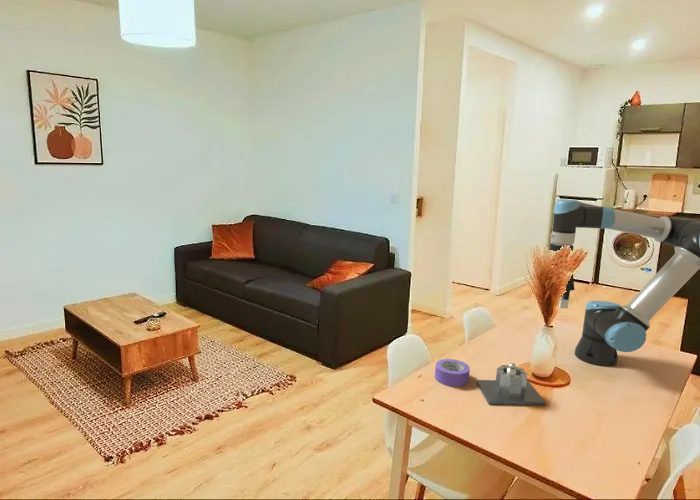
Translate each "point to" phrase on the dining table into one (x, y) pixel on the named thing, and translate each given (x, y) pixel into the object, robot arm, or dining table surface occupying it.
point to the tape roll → (452, 372)
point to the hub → (511, 382)
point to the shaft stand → (498, 399)
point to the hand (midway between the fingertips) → (554, 301)
